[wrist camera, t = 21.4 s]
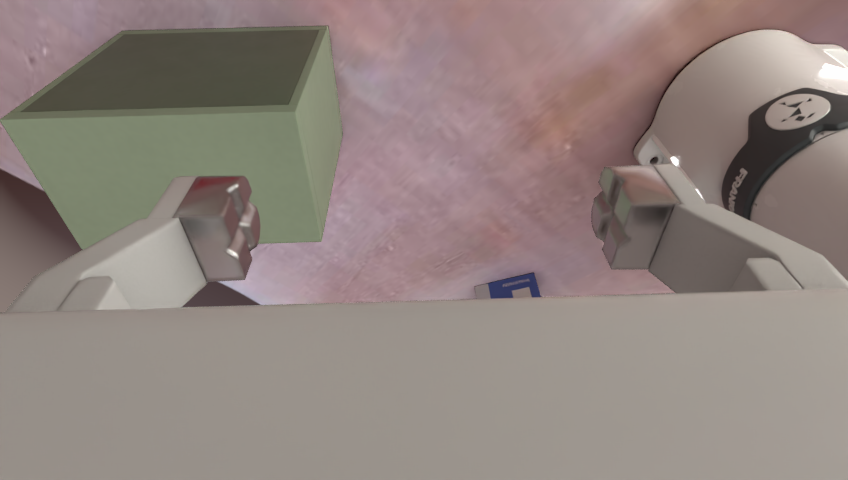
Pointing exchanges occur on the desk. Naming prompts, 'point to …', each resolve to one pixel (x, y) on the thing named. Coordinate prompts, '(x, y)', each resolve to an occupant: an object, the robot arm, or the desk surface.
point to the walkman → (509, 288)
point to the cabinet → (188, 126)
